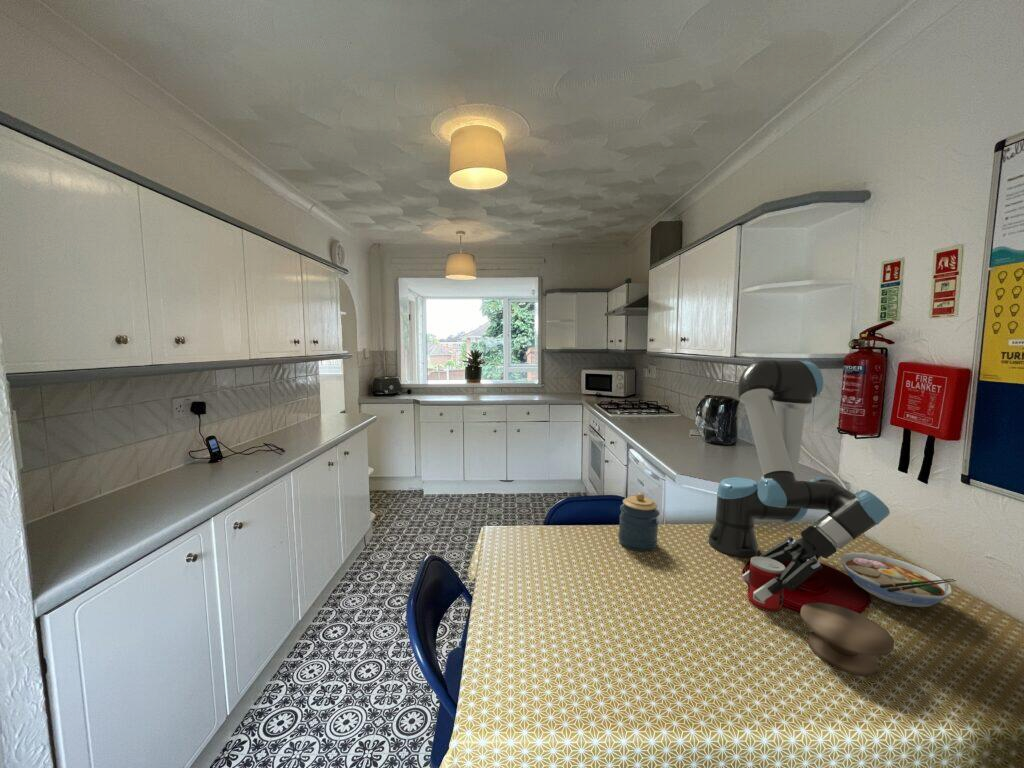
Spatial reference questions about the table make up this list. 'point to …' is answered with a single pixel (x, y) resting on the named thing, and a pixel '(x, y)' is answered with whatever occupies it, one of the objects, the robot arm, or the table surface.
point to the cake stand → (845, 638)
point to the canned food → (764, 582)
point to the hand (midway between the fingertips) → (751, 588)
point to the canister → (638, 523)
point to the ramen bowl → (895, 580)
